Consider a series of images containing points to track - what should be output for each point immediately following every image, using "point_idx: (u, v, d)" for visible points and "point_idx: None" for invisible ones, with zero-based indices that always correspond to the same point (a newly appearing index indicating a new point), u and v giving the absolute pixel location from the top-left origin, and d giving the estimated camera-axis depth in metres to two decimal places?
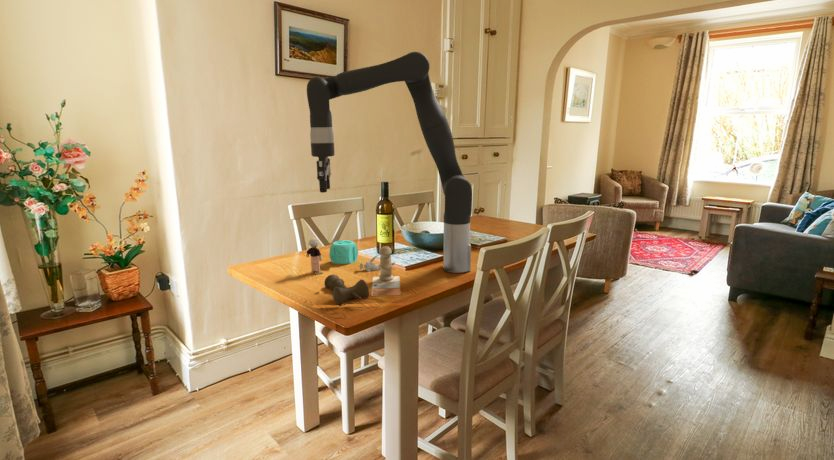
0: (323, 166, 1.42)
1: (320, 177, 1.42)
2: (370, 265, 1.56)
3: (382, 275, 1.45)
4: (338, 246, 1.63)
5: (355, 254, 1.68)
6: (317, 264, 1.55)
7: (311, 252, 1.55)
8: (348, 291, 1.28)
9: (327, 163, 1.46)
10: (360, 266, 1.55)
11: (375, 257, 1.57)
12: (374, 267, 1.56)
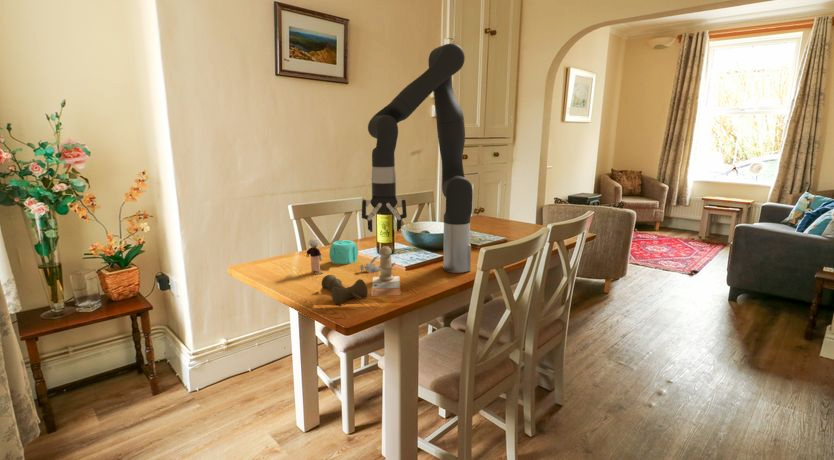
0: None
1: None
2: (371, 266, 1.54)
3: (382, 275, 1.45)
4: (338, 246, 1.63)
5: (355, 254, 1.68)
6: (317, 264, 1.55)
7: (311, 252, 1.55)
8: (347, 291, 1.28)
9: None
10: (361, 268, 1.53)
11: (375, 258, 1.56)
12: (375, 268, 1.55)
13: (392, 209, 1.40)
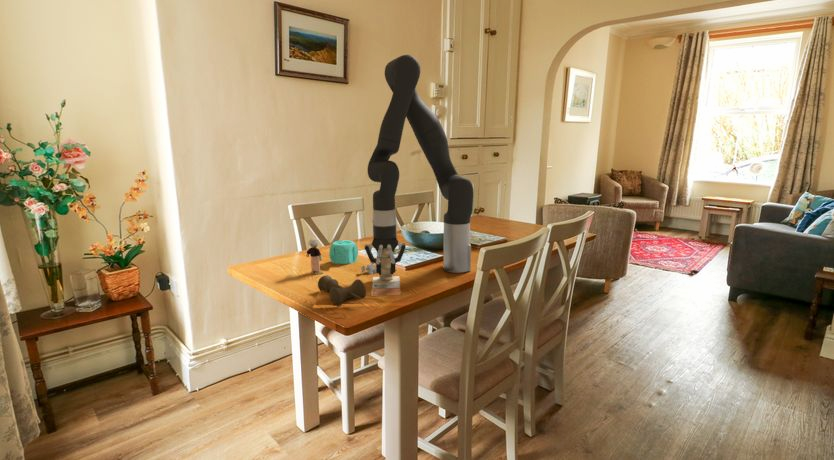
0: None
1: (400, 258, 1.45)
2: (372, 267, 1.53)
3: (382, 275, 1.45)
4: (338, 246, 1.63)
5: (355, 254, 1.68)
6: (317, 264, 1.55)
7: (311, 252, 1.55)
8: (345, 291, 1.28)
9: None
10: (362, 269, 1.52)
11: None
12: None
13: (391, 252, 1.43)
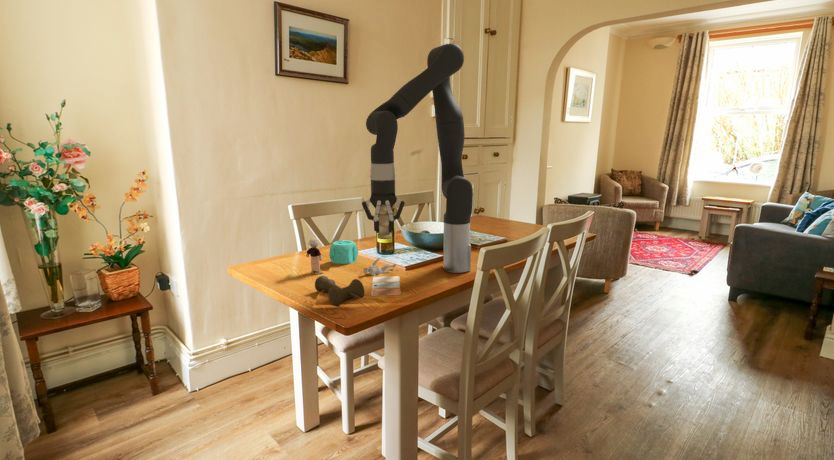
0: None
1: None
2: (374, 269, 1.51)
3: (380, 233, 1.40)
4: (338, 246, 1.63)
5: (355, 254, 1.68)
6: (317, 264, 1.55)
7: (311, 252, 1.55)
8: (344, 291, 1.28)
9: None
10: (365, 271, 1.50)
11: (377, 260, 1.53)
12: (378, 270, 1.52)
13: (389, 208, 1.38)
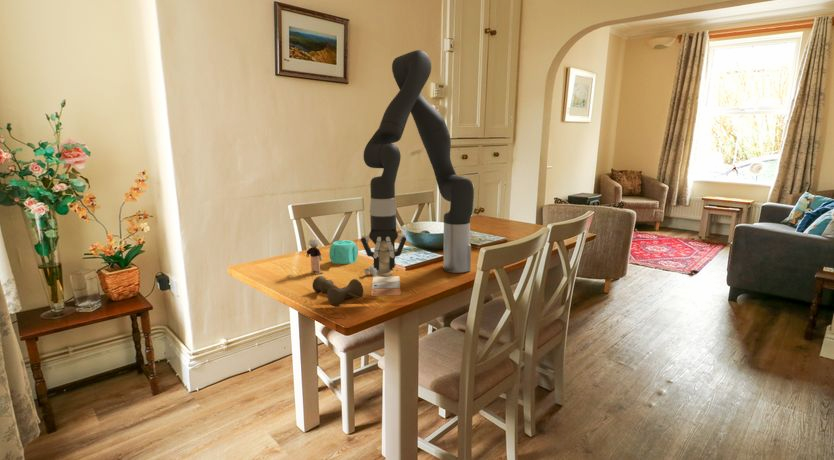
0: None
1: None
2: (375, 269, 1.51)
3: (380, 270, 1.32)
4: (338, 246, 1.63)
5: (355, 254, 1.68)
6: (317, 264, 1.55)
7: (311, 252, 1.55)
8: (343, 291, 1.28)
9: None
10: (366, 271, 1.49)
11: None
12: None
13: (390, 244, 1.30)
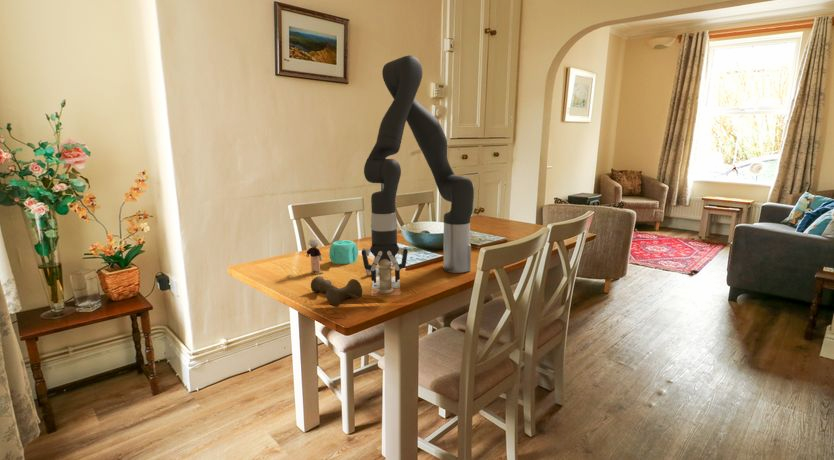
0: None
1: None
2: (376, 269, 1.51)
3: (381, 288, 1.34)
4: (338, 246, 1.63)
5: (355, 254, 1.68)
6: (317, 264, 1.55)
7: (311, 252, 1.55)
8: (342, 291, 1.28)
9: None
10: (368, 272, 1.49)
11: None
12: None
13: (392, 258, 1.31)
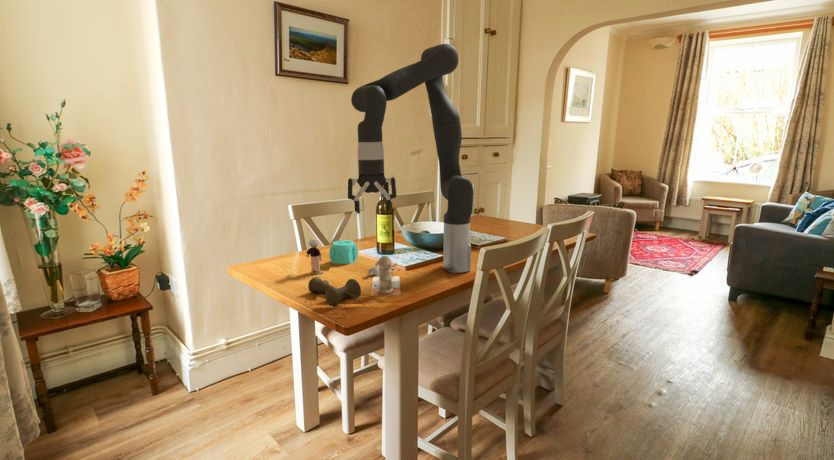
0: None
1: None
2: (378, 269, 1.51)
3: (381, 288, 1.33)
4: (338, 246, 1.63)
5: (355, 254, 1.68)
6: (317, 264, 1.55)
7: (311, 252, 1.55)
8: (341, 291, 1.28)
9: None
10: (370, 272, 1.48)
11: None
12: None
13: (380, 188, 1.30)
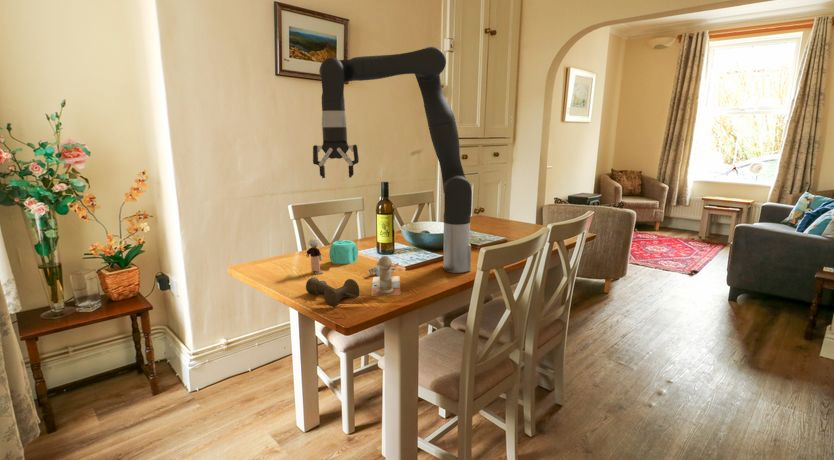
0: (357, 150, 1.43)
1: (358, 161, 1.43)
2: None
3: (382, 288, 1.33)
4: (338, 246, 1.63)
5: (355, 254, 1.68)
6: (317, 264, 1.55)
7: (311, 252, 1.55)
8: (340, 291, 1.28)
9: None
10: (371, 271, 1.49)
11: None
12: None
13: (343, 154, 1.41)
